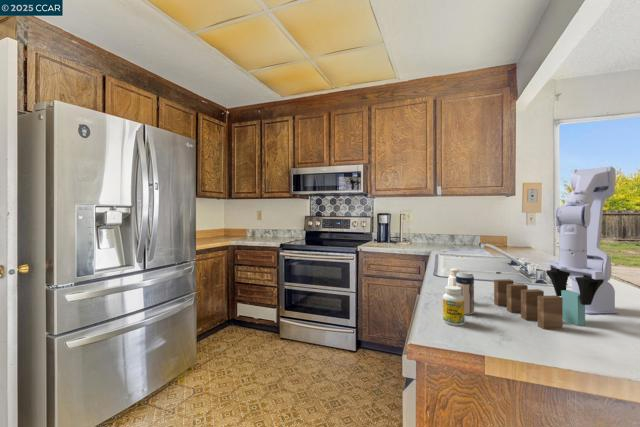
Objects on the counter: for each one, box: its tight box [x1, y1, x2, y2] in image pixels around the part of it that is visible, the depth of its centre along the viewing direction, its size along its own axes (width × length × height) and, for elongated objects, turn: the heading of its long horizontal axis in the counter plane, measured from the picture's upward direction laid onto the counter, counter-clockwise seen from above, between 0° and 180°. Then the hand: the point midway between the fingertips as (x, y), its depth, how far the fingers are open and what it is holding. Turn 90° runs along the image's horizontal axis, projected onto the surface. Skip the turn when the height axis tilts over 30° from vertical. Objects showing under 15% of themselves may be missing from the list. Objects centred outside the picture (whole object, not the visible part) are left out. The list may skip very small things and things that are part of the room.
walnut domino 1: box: [493, 278, 514, 307], centre depth 94 cm, size 2×5×8 cm, turn 92°
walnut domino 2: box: [506, 283, 529, 314], centre depth 88 cm, size 2×5×8 cm, turn 92°
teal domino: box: [560, 289, 586, 327], centre depth 79 cm, size 2×5×8 cm, turn 2°
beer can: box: [456, 270, 475, 316], centre depth 87 cm, size 5×5×12 cm
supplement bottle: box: [442, 285, 466, 327], centre depth 80 cm, size 5×5×10 cm
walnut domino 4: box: [537, 294, 564, 330], centre depth 76 cm, size 2×5×8 cm, turn 92°
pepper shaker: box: [447, 268, 460, 286], centre depth 98 cm, size 5×5×11 cm
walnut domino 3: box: [520, 288, 545, 321], centre depth 82 cm, size 2×5×8 cm, turn 92°
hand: (572, 300), depth 79 cm, fingers open, 7 cm apart
